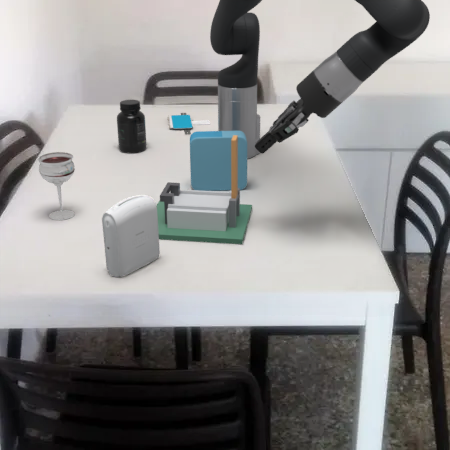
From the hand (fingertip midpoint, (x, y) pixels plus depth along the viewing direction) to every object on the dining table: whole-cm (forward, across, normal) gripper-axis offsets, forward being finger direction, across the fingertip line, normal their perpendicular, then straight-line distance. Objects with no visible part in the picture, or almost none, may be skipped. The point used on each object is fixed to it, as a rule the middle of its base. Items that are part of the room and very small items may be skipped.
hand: (258, 149), depth 132 cm
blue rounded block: (+18, -19, +4) cm, 27 cm away
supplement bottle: (+36, -41, -14) cm, 57 cm away
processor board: (+19, 0, +3) cm, 19 cm away
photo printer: (+25, +18, -3) cm, 31 cm away
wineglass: (+39, 0, -16) cm, 42 cm away
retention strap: (+10, 0, +4) cm, 11 cm away
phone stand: (+30, -64, -7) cm, 71 cm away
